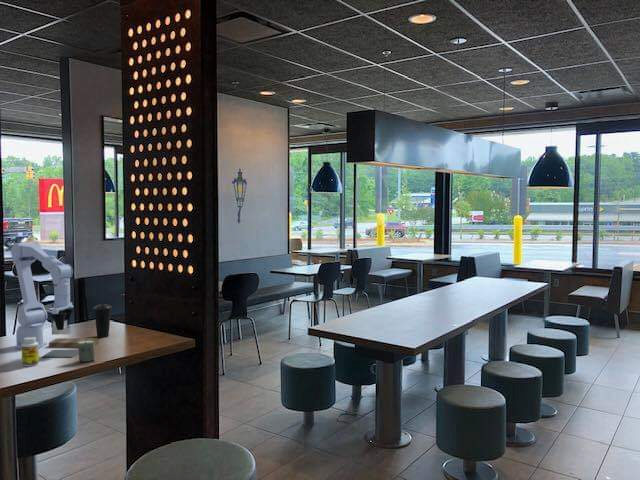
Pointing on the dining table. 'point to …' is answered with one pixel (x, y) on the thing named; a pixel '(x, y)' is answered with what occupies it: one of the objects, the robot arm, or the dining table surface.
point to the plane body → (70, 342)
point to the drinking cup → (102, 319)
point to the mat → (61, 354)
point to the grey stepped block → (65, 330)
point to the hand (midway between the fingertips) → (62, 328)
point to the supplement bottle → (30, 352)
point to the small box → (86, 351)
